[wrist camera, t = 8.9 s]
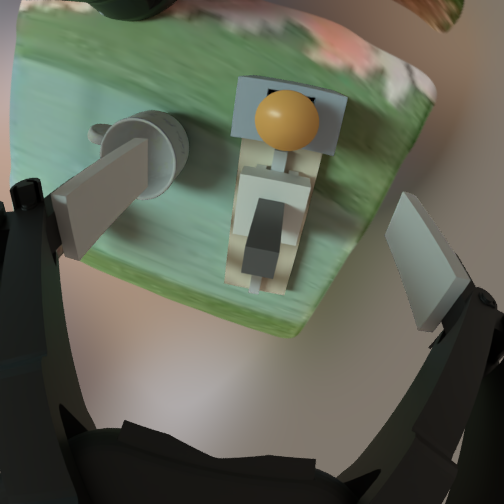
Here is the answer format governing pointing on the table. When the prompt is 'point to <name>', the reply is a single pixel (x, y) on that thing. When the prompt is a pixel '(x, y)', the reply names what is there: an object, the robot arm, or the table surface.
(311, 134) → the button
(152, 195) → the teacup
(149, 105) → the table surface
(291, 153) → the rail board
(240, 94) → the blue-grey button box
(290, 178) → the carriage
